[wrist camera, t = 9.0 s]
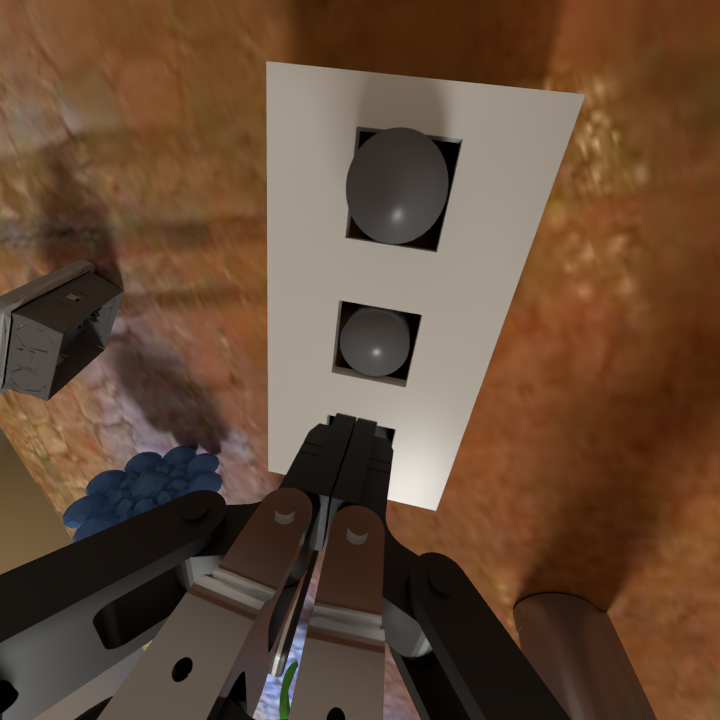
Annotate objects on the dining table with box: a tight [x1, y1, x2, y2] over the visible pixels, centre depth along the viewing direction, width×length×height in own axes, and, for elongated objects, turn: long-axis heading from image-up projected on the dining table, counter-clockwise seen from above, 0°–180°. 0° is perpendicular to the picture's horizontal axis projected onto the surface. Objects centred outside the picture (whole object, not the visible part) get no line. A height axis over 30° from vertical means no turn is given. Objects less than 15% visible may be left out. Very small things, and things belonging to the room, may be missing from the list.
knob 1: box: [346, 127, 448, 244], centre depth 16 cm, size 4×4×5 cm
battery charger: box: [268, 550, 319, 677], centre depth 35 cm, size 7×4×11 cm, turn 167°
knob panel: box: [266, 61, 585, 511], centre depth 22 cm, size 14×26×6 cm, turn 173°
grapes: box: [62, 446, 223, 543], centre depth 30 cm, size 12×7×12 cm, turn 83°
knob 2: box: [340, 304, 411, 376], centre depth 22 cm, size 4×4×5 cm
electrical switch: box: [0, 259, 124, 401], centre depth 26 cm, size 9×5×9 cm, turn 143°
